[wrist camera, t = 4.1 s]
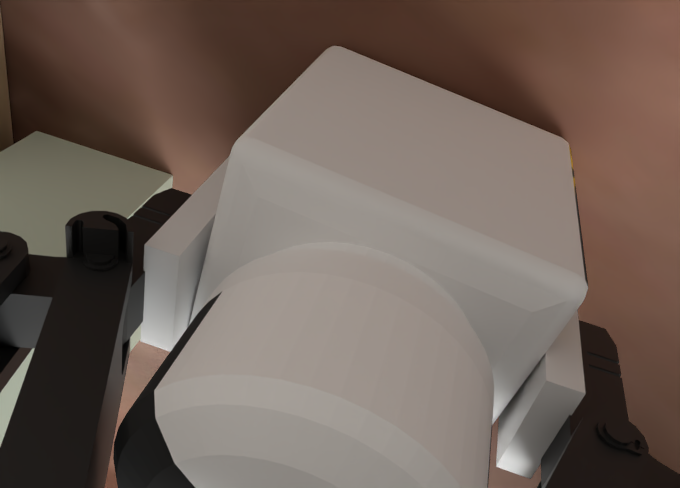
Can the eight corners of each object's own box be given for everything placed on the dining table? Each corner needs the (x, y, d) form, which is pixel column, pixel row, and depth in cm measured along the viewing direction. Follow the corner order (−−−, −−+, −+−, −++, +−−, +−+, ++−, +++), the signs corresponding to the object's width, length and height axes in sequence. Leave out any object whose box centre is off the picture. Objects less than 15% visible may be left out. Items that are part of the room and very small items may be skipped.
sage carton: (173, 175, 21) (-21, 355, 14) (164, 308, 24) (5, 510, 17) (34, 130, 22) (-224, 281, 14) (44, 267, 25) (-160, 446, 18)
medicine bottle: (464, 322, 21) (407, 738, 11) (268, 238, 21) (44, 576, 12) (575, 138, 17) (633, 541, 7) (331, 37, 17) (66, 296, 7)
